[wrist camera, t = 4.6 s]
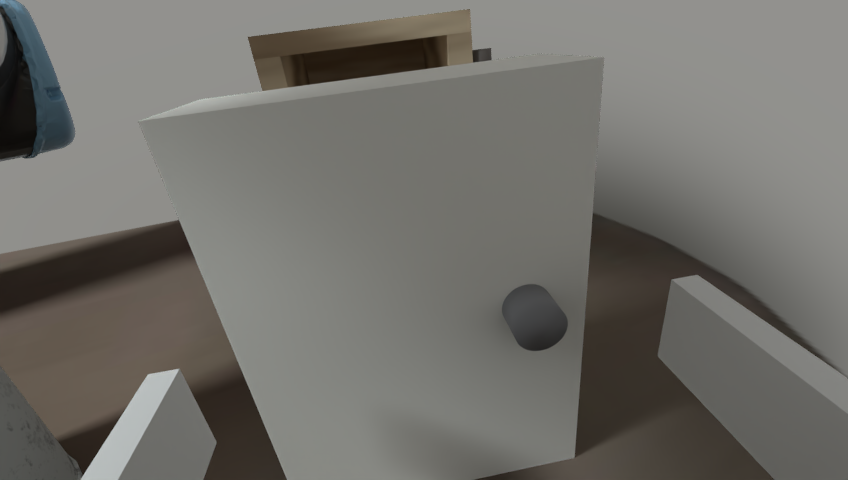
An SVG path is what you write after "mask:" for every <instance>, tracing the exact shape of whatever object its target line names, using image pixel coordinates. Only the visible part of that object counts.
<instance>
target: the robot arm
mask: <svg viewBox="0 0 848 480" xmlns="http://www.w3.org/2000/svg"><path fill="white" fill-rule="evenodd" d="M74 137H75V128H74V124H73V120H72V117H71V114H70V111H69V108H68V106H67V103H66V100H65V98H64V95H63V93H62V92H61V90H60V85H59V82H58V80H57V76H56V73H55V71H54V68H53V66H52V63H51V61H50V58H49V56H48V54H47V51H46V49H45V46H44V44H43V42H42V39H41V37H40V34H39V32H38V30H37V28H36V26H35V24H34V21H33V19H32V17H31V15H30V13H29V12H28V10H27V9H26V8H25V6H24V5H22V4H21V3H19V2H17V1H16V0H0V161H5V160H10V159H15V158H20V157H23V158H33V157H35V156H37V155H38V154H40V153H43V152H48V151H52V150H56V149H60V148H64V147H66V146H67V145H69V144H70V143H71V142H72V141H73V139H74ZM658 357H659V358H660V359H661V360H662V362H663V363H664V364H665V365H666V366H667V367H668V368H669V369H670V370H671V371H672V372H673V373H674V374H675V375H676V376H677V377H678V378H679V379H680V381H681V382H682V383H683V384H684V385H685V386H686V387H687V388H688V389H689V390H690V391H691V392H692V393H693V394H694V395H695V396H696V397H697V398H698V400H699V401H700V402H701V403H702V404H703V405H704V406H705V407H706V408H707V409H708V410H709V411H710V412H711V413H712V414H713V415H714V416H715V417H716V419H717V420H718V421H719V422H720V423H721V424H722V425H723V426H724V427H725V428H726V429H727V430H728V431H729V432H730V433H731V434H732V435H733V436H734V438H735V439H736V440H737V441H738V442H739V443H740V444H741V445H742V446H743V447H744V448H745V449H746V450H747V451H748V452H749V453H750V454H751V455H752V457H753V458H754V459H755V460H756V461H757V462H758V463H759V464H760V465H761V466H762V467H763V468H764V469H765V470H766V471H767V472H768V473H769V474H770V476H771V477H772V478H773V479H774V480H848V378H847V377H845V376H844V375H842V374H841V373H839V372H838V371H837V370H835V369H834V368H832V367H831V366H829V365H828V364H826V363H825V362H823V361H822V360H821V359H819V358H818V357H816V356H815V355H813V354H812V353H810V352H809V351H807V350H806V349H805V348H803V347H802V346H800V345H799V344H797V343H796V342H794V341H793V340H791V339H790V338H789V337H787V336H786V335H784V334H783V333H781V332H780V331H778V330H777V329H775V328H774V327H773V326H771V325H770V324H768V323H767V322H765V321H764V320H762V319H761V318H760V317H758V316H757V315H755V314H754V313H752V312H751V311H749V310H748V309H746V308H745V307H744V306H742V305H741V304H739V303H738V302H736V301H735V300H733V299H732V298H730V297H729V296H728V295H726V294H725V293H723V292H722V291H720V290H719V289H717V288H716V287H714V286H713V285H712V284H710V283H709V282H707V281H706V280H704V279H703V278H701V277H700V276H698V275H694V276H688V277H683V278H677V279H672V280H671V284H670V290H669V295H668V301H667V306H666V312H665V317H664V323H663V328H662V334H661V339H660V345H659V350H658ZM216 443H217V442H216V440H215V438H214V436H213V434H212V432H211V430H210V428H209V426H208V424H207V422H206V420H205V418H204V416H203V414H202V412H201V410H200V408H199V406H198V404H197V402H196V400H195V398H194V396H193V394H192V392H191V390H190V388H189V386H188V384H187V382H186V381H185V379H184V377H183V375H182V373H181V371H180V369H175V370H170V371H164V372H159V373H153V374H148V375H147V377H146V378H145V380H144V381H143V383H142V385H141V386H140V388H139V389H138V391H137V392H136V394H135V396H134V397H133V399H132V400H131V402H130V403H129V405H128V406H127V408H126V410H125V411H124V413H123V414H122V416H121V417H120V419H119V420H118V422H117V424H116V425H115V427H114V428H113V430H112V431H111V433H110V434H109V436H108V438H107V439H106V441H105V442H104V444H103V445H102V447H101V449H100V450H99V452H98V453H97V455H96V456H95V458H94V459H93V461H92V463H91V464H90V466H89V467H88V469H87V470H86V472H85V474H84V475H83V477H82V478H81V480H203V479H204V477H205V474H206V471H207V468H208V465H209V463H210V460H211V457H212V454H213V452H214V449H215V446H216Z"/></svg>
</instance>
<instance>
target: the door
mask: <svg viewBox="0 0 848 480" xmlns="http://www.w3.org/2000/svg"><path fill="white" fill-rule="evenodd" d="M603 66H604V57H591V56H572V55H554V54H534V55H526V56H519V57H512V58H505V59H497V60H489V61H482V62H474V63H467V64H460V65H452V66H445V67H437V68H430V69H423V70H415V71H408V72H400V73H393V74H385V75H378V76H371V77H363V78H356V79H348V80H341V81H334V82H326V83H319V84H311V85H304V86H297V87H289V88H282V89H274V90H267V91H259V92H252V93H245V94H238V95H230V96H222V97H215V98H208V99H200V100H197V101H194V102H192V103H189V104H186V105H183V106H180V107H177V108H174V109H172V110H169V111H166V112H163V113H160V114H157V115H154V116H152V117H149V118H146V119H143V120H140V121H138V123H139V125H140V127H141V130H142V132H143V135H144V137H145V139H146V142H147V144H148V147H149V149H150V152H151V154H152V156H153V159H154V161H155V164H156V166H157V168H158V171H159V173H160V176H161V178H162V180H163V183H164V185H165V188H166V190H167V192H168V195H169V197H170V199H171V202H172V204H173V207H174V209H175V212H176V214H177V216H178V219H179V221H180V224H181V226H182V228H183V231H184V233H185V236H186V238H187V240H188V243H189V245H190V248H191V250H192V252H193V255H194V257H195V260H196V262H197V265H198V267H199V269H200V272H201V274H202V277H203V279H204V281H205V284H206V286H207V289H208V291H209V293H210V296H211V298H212V301H213V303H214V305H215V308H216V310H217V313H218V315H219V317H220V320H221V322H222V325H223V327H224V329H225V332H226V334H227V337H228V339H229V341H230V344H231V346H232V349H233V351H234V353H235V356H236V358H237V361H238V363H239V365H240V368H241V370H242V373H243V375H244V377H245V380H246V382H247V385H248V387H249V389H250V392H251V394H252V397H253V399H254V401H255V404H256V406H257V409H258V411H259V414H260V416H261V418H262V421H263V423H264V426H265V428H266V430H267V433H268V435H269V438H270V440H271V442H272V445H273V447H274V450H275V452H276V454H277V457H278V459H279V462H280V464H281V466H282V469H283V471H284V474H285V476H286V478H287V480H474V479H479V478H484V477H488V476H493V475H498V474H502V473H507V472H511V471H516V470H521V469H525V468H530V467H535V466H539V465H544V464H549V463H553V462H558V461H562V460H567V459H572V458H575V445H576V431H577V418H578V404H579V391H580V377H581V364H582V350H583V337H584V324H585V310H586V297H587V283H588V270H589V256H590V243H591V229H592V216H593V202H594V189H595V175H596V162H597V148H598V135H599V121H600V108H601V93H602V81H603Z"/></svg>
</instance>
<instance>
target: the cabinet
mask: <svg viewBox="0 0 848 480" xmlns="http://www.w3.org/2000/svg"><path fill="white" fill-rule="evenodd" d="M248 40H249V43H250V47H251V51H252V54H253V58H254V61H255V65H256V69H257V73H258V76H259V80H260V83H261V87H262V91H267V90H274V89H282V88H289V87H297V86H304V85H311V84H319V83H326V82H334V81H341V80H348V79H356V78H363V77H371V76H378V75H385V74H393V73H400V72H408V71H415V70H423V69H430V68H437V67H445V66H452V65H460V64H467V63H474V62H482V61H489V60H491V48H488V49H478V50H472V37H471V20H470V9H467V10H459V11H451V12H443V13H435V14H427V15H419V16H411V17H403V18H395V19H387V20H379V21H372V22H364V23H356V24H349V25H340V26H332V27H324V28H316V29H308V30H300V31H292V32H284V33H276V34H268V35H261V36H252V37H248Z"/></svg>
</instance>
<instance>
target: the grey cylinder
mask: <svg viewBox="0 0 848 480" xmlns="http://www.w3.org/2000/svg"><path fill="white" fill-rule="evenodd" d="M82 477H83V474H82V472H81V470H80V468H79V465H78V463H77V461H76V460H75V459H73V458H72V457H71V456H69V455H68V454H67V453H66V452H65V450H64V449H63V448H62V446H61V445H60V444H59V442H58V441H57V440H56V439H55V437H54V436H53V435H52V433H51V432H50V431H49V429H48V428H47V427H46V425H45V424H44V423H43V421H42V420H41V419H40V418H39V416H38V415H37V414H36V412H35V411H34V410H33V408H32V407H31V406H30V404H29V403H28V402H27V400H26V399H25V398H24V396H23V395H22V394H21V393H20V391H19V390H18V389H17V387H16V386H15V385H14V383H13V382H12V381H11V379H10V378H9V377H8V375H7V374H6V373H5V372H4V370H3V369H2V368H1V366H0V480H81V478H82Z"/></svg>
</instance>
